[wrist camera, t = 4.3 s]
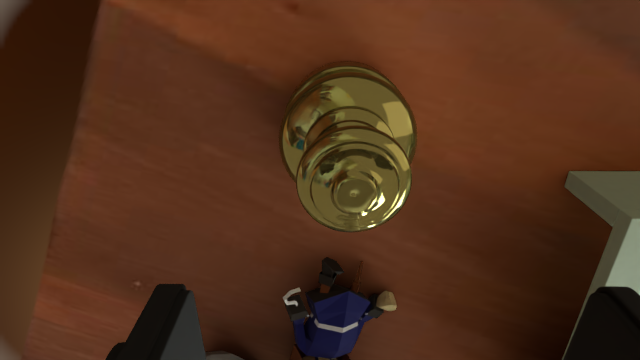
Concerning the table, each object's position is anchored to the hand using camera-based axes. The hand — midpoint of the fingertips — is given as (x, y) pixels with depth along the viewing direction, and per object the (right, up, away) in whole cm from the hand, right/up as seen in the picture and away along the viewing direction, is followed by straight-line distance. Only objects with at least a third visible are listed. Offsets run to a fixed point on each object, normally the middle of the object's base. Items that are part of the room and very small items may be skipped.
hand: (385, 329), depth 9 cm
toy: (-1, -8, +23) cm, 24 cm away
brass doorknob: (0, +7, +15) cm, 17 cm away
